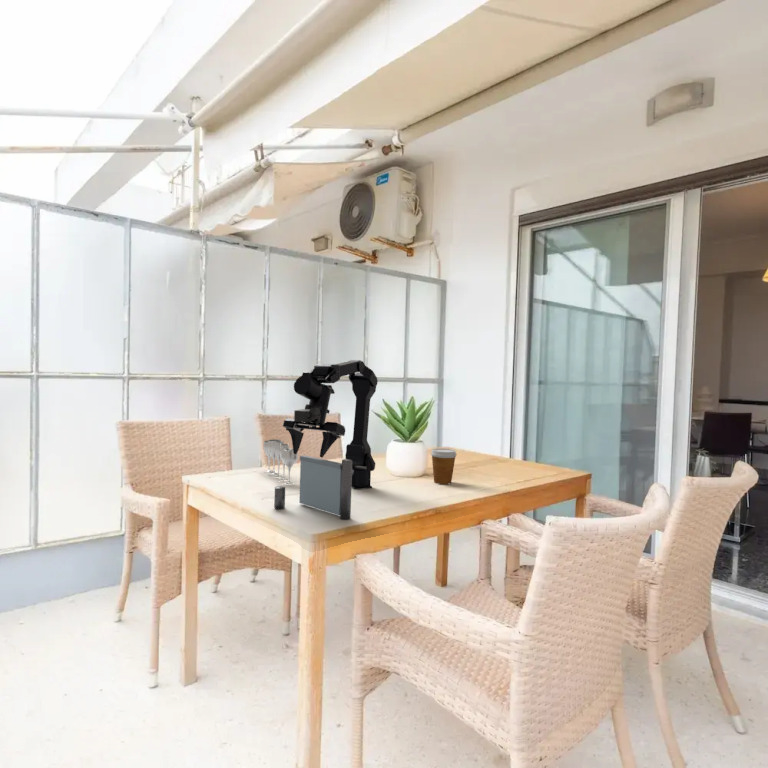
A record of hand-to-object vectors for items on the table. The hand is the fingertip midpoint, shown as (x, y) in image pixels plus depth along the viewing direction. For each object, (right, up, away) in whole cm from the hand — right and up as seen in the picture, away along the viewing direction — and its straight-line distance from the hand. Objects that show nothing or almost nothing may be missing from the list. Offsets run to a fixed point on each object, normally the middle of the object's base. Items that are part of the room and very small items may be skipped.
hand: (307, 455), depth 152 cm
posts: (+2, -15, -5) cm, 16 cm away
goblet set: (-17, -14, +41) cm, 46 cm away
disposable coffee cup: (+44, -16, +41) cm, 62 cm away
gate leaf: (+4, -15, -2) cm, 16 cm away
